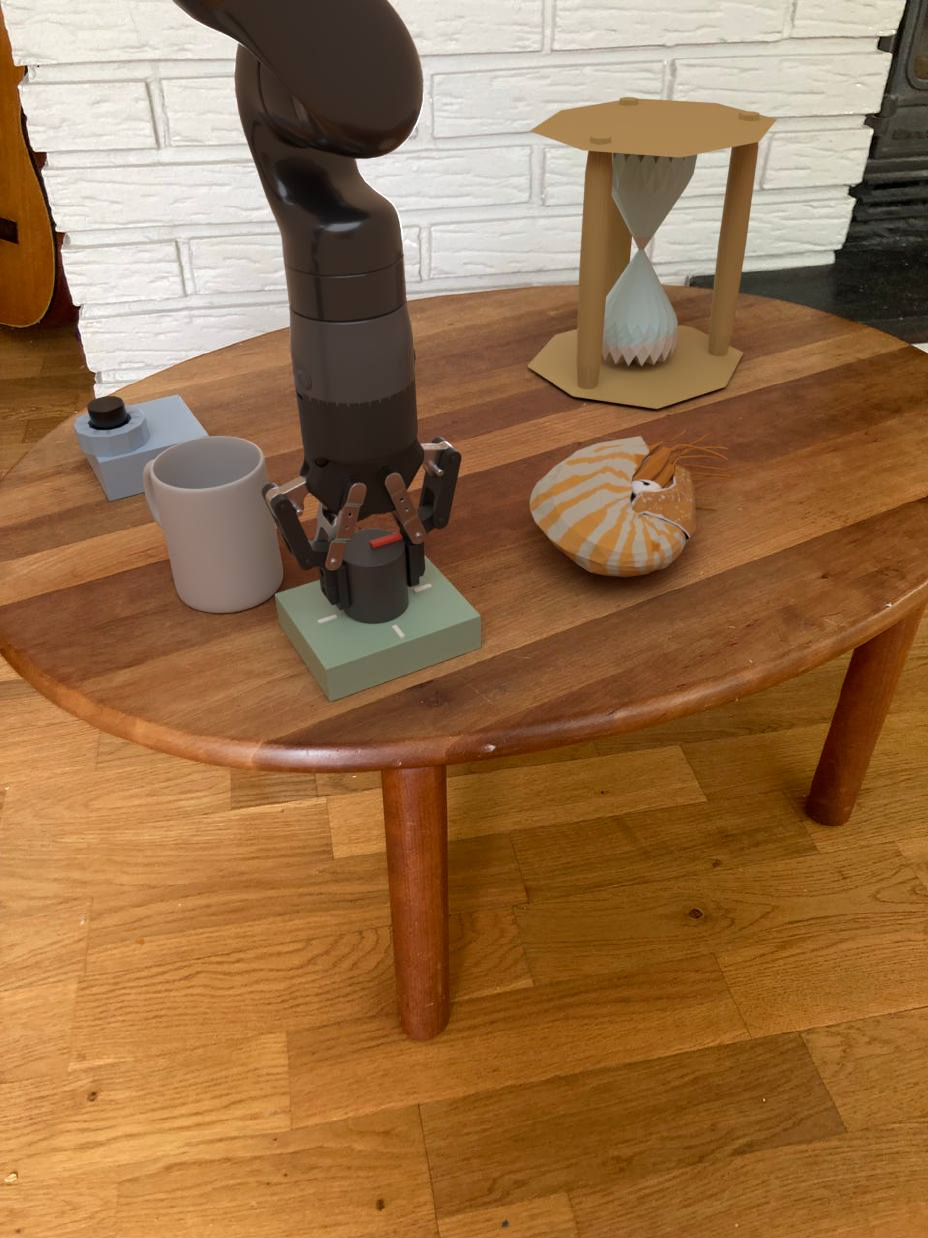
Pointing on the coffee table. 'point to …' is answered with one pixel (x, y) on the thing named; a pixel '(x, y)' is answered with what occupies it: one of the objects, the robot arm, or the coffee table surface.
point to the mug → (216, 522)
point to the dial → (376, 576)
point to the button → (107, 413)
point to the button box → (135, 442)
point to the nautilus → (621, 505)
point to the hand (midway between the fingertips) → (374, 591)
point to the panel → (378, 634)
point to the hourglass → (630, 290)
